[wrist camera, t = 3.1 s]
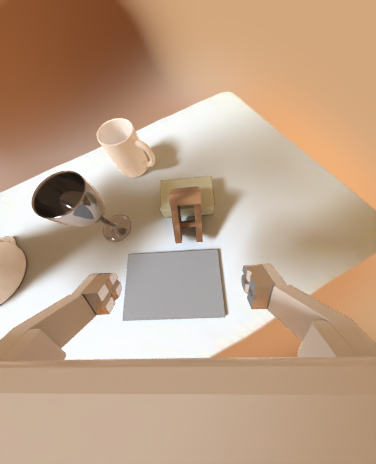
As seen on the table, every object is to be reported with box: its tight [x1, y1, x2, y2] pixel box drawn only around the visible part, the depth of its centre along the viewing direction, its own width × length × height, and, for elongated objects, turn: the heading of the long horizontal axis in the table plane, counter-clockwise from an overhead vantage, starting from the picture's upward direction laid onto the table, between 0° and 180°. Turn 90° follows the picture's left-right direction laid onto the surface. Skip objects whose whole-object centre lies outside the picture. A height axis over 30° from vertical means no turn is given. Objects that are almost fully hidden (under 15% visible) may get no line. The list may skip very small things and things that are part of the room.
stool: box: [168, 186, 203, 243], centre depth 28 cm, size 6×11×11 cm, turn 3°
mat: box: [123, 249, 225, 321], centre depth 29 cm, size 20×13×1 cm, turn 93°
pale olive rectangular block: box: [160, 176, 215, 218], centre depth 33 cm, size 12×8×4 cm, turn 93°
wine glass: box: [32, 171, 131, 242], centre depth 27 cm, size 8×8×15 cm
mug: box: [97, 118, 155, 177], centre depth 35 cm, size 12×8×10 cm
